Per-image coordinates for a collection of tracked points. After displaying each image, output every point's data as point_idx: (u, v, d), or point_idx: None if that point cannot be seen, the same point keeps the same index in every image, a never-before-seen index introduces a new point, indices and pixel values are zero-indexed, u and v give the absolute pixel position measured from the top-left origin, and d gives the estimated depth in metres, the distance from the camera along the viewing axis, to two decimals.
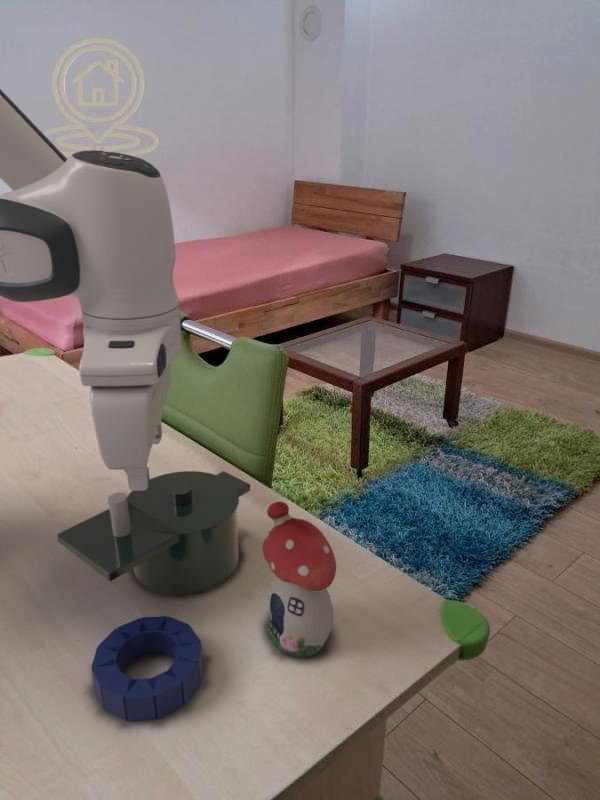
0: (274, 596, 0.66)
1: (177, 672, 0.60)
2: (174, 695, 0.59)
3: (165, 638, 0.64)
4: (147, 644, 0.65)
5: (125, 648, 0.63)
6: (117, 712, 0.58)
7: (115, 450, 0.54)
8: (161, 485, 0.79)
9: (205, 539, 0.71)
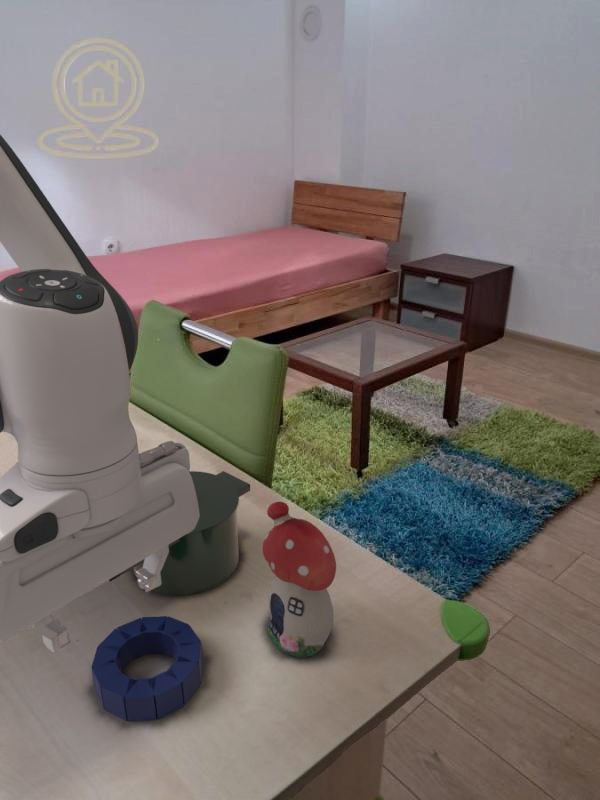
0: (274, 596, 0.66)
1: (177, 672, 0.60)
2: (174, 695, 0.59)
3: (165, 638, 0.64)
4: (147, 644, 0.65)
5: (125, 648, 0.63)
6: (117, 712, 0.58)
7: None
8: None
9: (205, 539, 0.71)
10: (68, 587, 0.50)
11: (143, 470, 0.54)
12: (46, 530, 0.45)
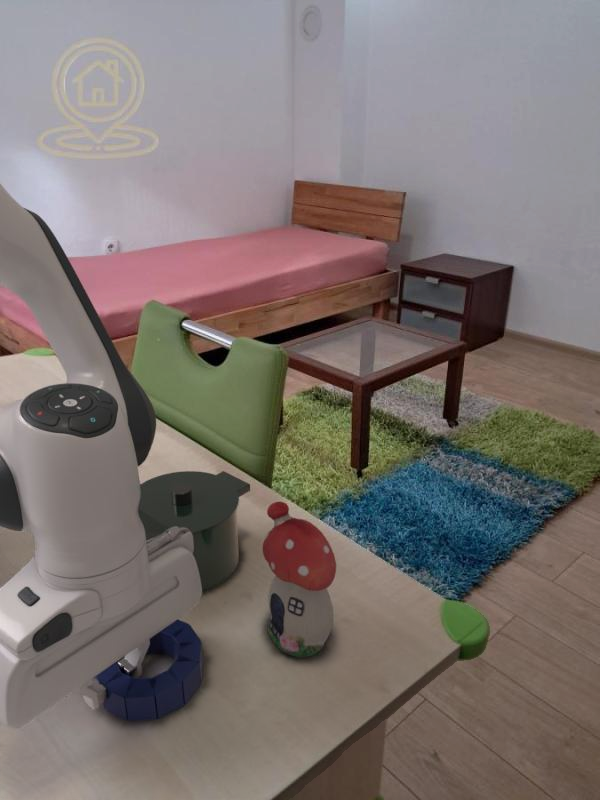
0: (274, 596, 0.66)
1: (178, 671, 0.60)
2: (175, 695, 0.59)
3: (165, 637, 0.64)
4: None
5: None
6: (118, 711, 0.58)
7: None
8: (161, 485, 0.79)
9: (205, 539, 0.71)
10: (80, 673, 0.53)
11: (150, 557, 0.58)
12: (61, 628, 0.48)
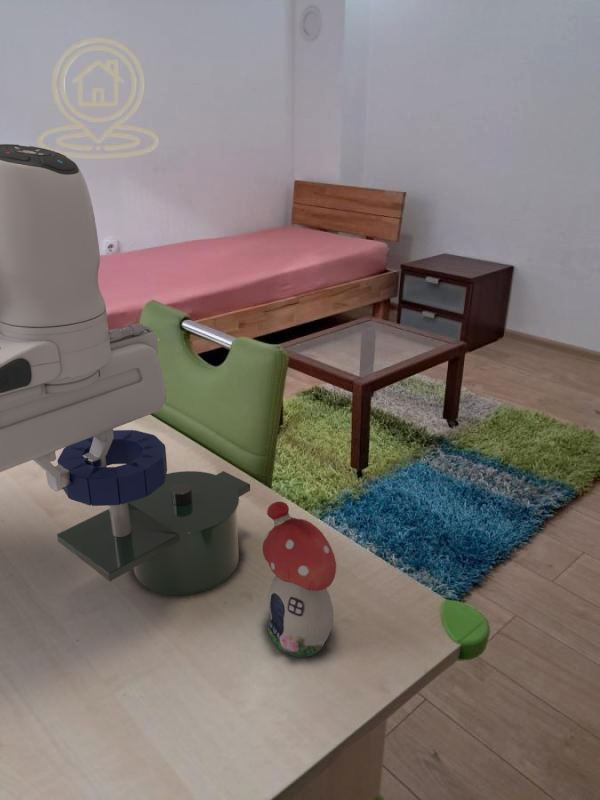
0: (274, 596, 0.66)
1: (141, 463, 0.62)
2: (137, 481, 0.61)
3: (131, 445, 0.66)
4: (114, 453, 0.67)
5: None
6: (82, 497, 0.60)
7: None
8: None
9: (205, 539, 0.71)
10: (41, 439, 0.55)
11: (113, 345, 0.60)
12: (20, 375, 0.50)
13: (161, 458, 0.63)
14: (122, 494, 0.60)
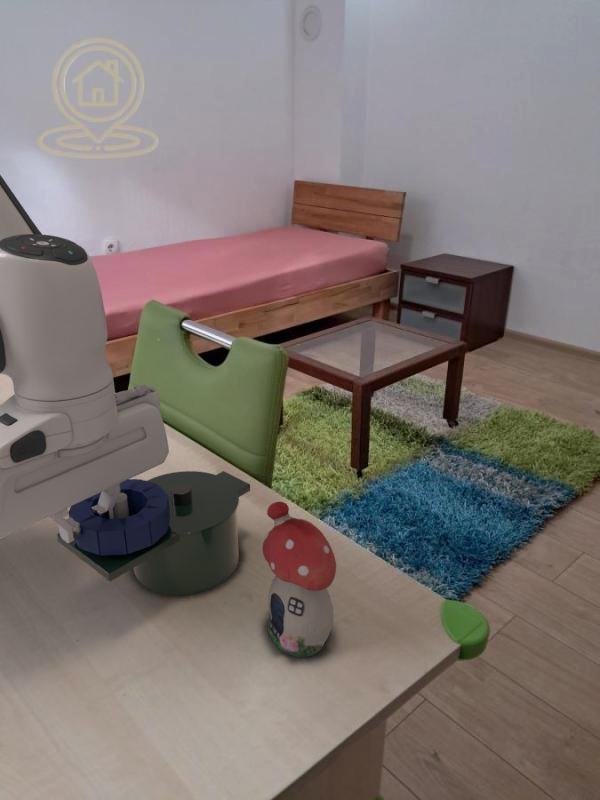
0: (274, 596, 0.66)
1: (146, 514, 0.67)
2: (142, 532, 0.65)
3: (136, 494, 0.71)
4: None
5: None
6: (91, 547, 0.65)
7: None
8: (161, 485, 0.79)
9: (205, 539, 0.71)
10: (55, 499, 0.60)
11: (119, 407, 0.64)
12: (36, 445, 0.55)
13: (164, 509, 0.68)
14: (129, 544, 0.65)
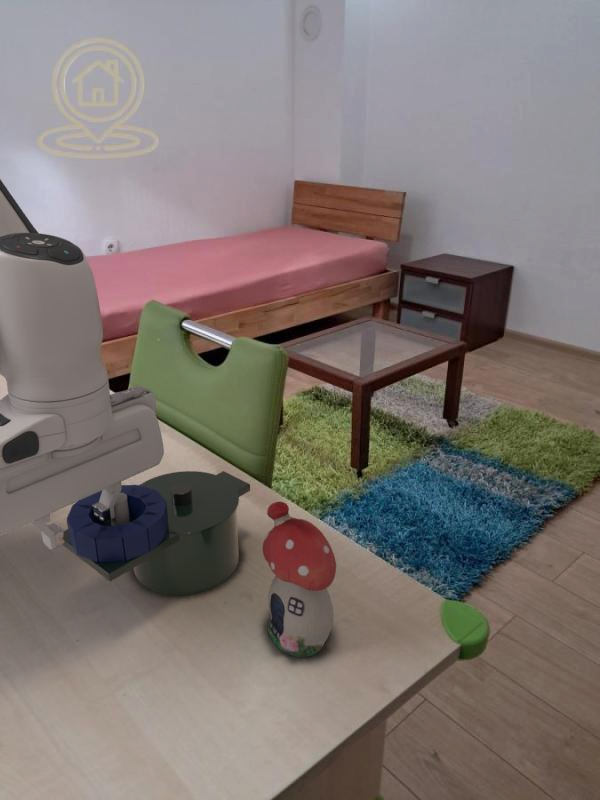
0: (274, 596, 0.66)
1: (144, 521, 0.67)
2: (140, 539, 0.65)
3: (134, 500, 0.71)
4: None
5: None
6: (90, 554, 0.65)
7: None
8: (161, 485, 0.79)
9: (205, 539, 0.71)
10: (47, 500, 0.59)
11: (114, 408, 0.64)
12: (29, 446, 0.55)
13: (163, 515, 0.68)
14: (127, 551, 0.65)
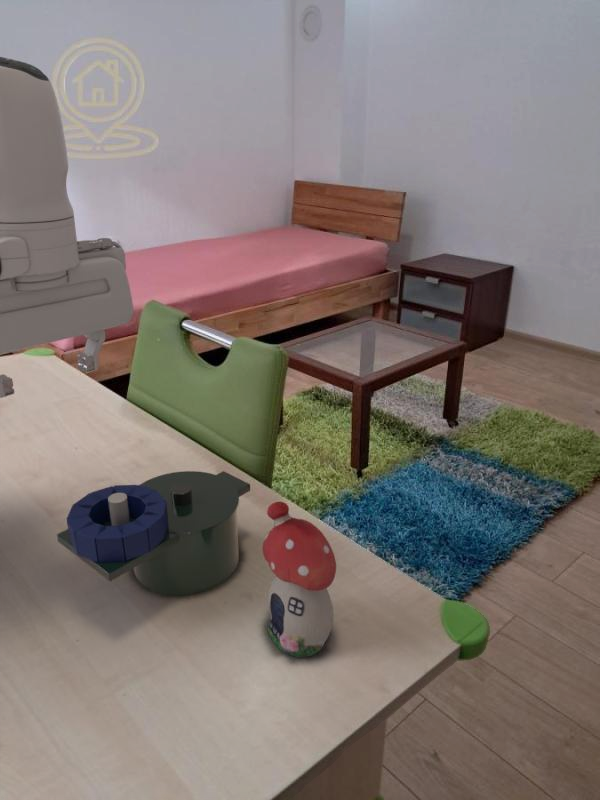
0: (274, 596, 0.66)
1: (144, 521, 0.67)
2: (140, 539, 0.65)
3: (134, 500, 0.71)
4: None
5: (98, 508, 0.70)
6: (90, 554, 0.65)
7: None
8: (161, 485, 0.79)
9: (205, 539, 0.71)
10: (12, 335, 0.59)
11: (82, 255, 0.64)
12: None
13: (163, 515, 0.68)
14: (127, 551, 0.65)
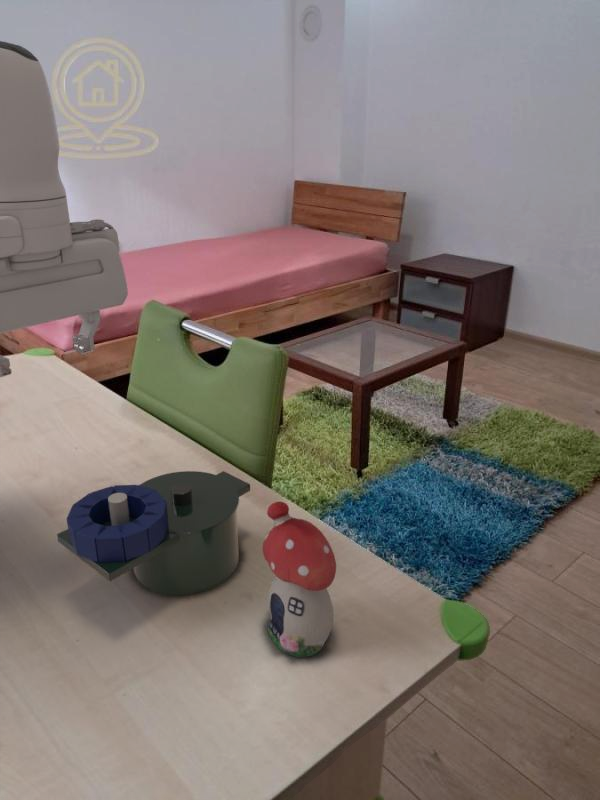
0: (274, 596, 0.66)
1: (144, 521, 0.67)
2: (140, 539, 0.65)
3: (134, 500, 0.71)
4: None
5: (98, 508, 0.70)
6: (90, 554, 0.65)
7: None
8: (161, 485, 0.79)
9: (205, 539, 0.71)
10: (7, 315, 0.60)
11: (75, 236, 0.65)
12: None
13: (163, 515, 0.68)
14: (127, 551, 0.65)
